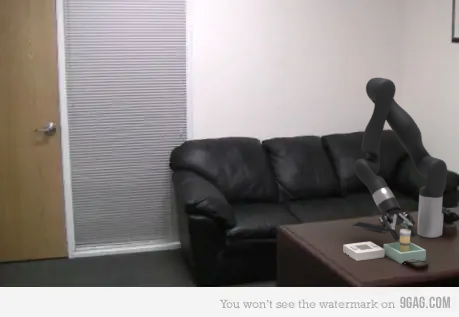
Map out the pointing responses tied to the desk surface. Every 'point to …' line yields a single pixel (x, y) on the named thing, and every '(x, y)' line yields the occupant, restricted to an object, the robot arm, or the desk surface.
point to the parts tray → (399, 257)
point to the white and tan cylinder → (404, 240)
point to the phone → (369, 227)
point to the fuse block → (363, 251)
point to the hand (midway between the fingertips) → (406, 238)
